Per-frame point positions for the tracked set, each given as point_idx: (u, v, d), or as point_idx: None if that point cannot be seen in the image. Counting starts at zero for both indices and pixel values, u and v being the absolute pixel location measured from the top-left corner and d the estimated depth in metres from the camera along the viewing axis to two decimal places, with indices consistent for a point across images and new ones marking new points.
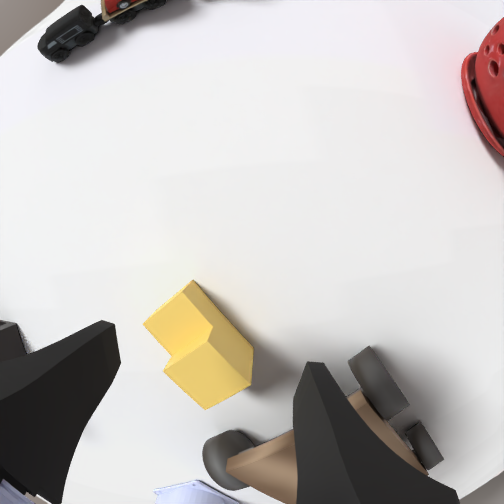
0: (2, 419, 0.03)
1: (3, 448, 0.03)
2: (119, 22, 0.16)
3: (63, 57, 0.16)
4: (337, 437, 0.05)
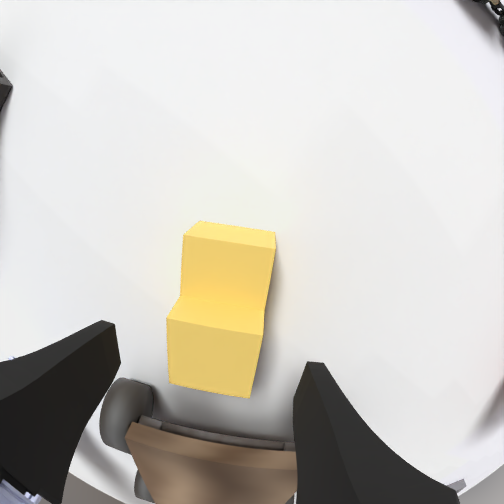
0: (2, 419, 0.03)
1: (3, 448, 0.03)
2: None
3: None
4: (337, 437, 0.05)
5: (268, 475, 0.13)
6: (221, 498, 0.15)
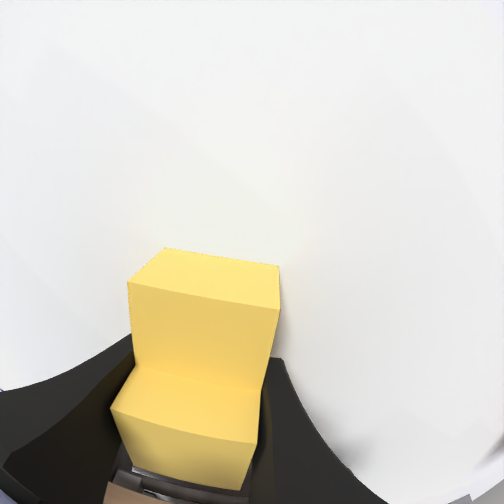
0: (47, 452, 0.03)
1: (48, 481, 0.03)
2: None
3: None
4: (274, 435, 0.05)
5: None
6: None
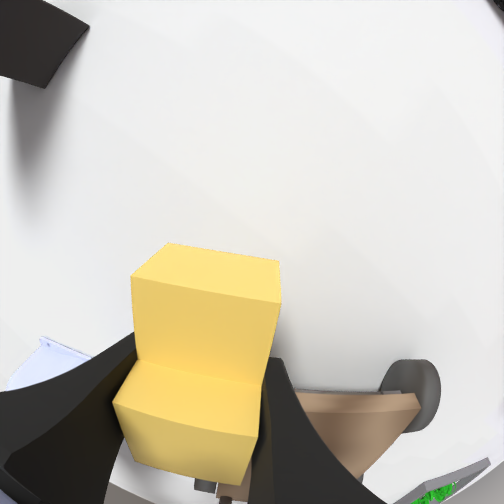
0: (47, 452, 0.03)
1: (49, 482, 0.03)
2: None
3: None
4: (273, 435, 0.05)
5: (379, 423, 0.13)
6: None
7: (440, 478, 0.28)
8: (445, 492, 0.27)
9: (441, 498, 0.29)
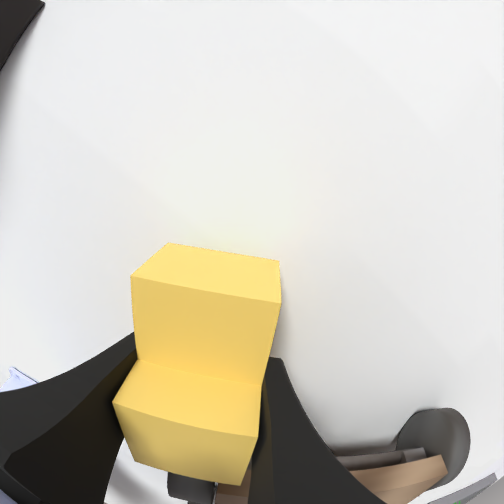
0: (47, 452, 0.03)
1: (49, 482, 0.03)
2: None
3: None
4: (273, 435, 0.05)
5: (399, 493, 0.08)
6: None
7: (446, 497, 0.23)
8: None
9: None
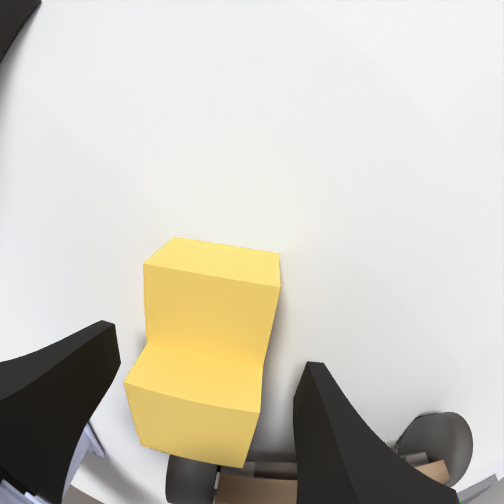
0: (2, 419, 0.03)
1: (3, 448, 0.03)
2: None
3: None
4: (337, 437, 0.05)
5: None
6: None
7: None
8: None
9: None
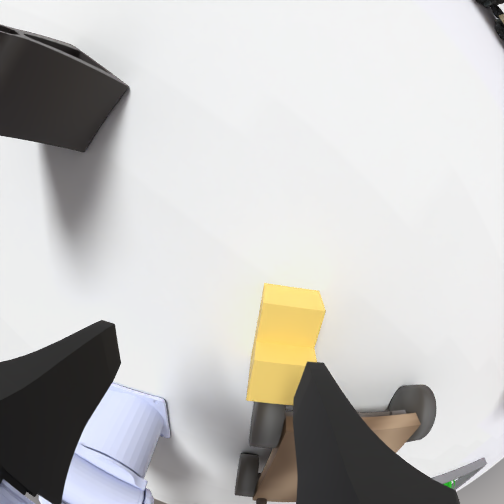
0: (2, 419, 0.03)
1: (3, 448, 0.03)
2: (497, 26, 0.09)
3: None
4: (337, 437, 0.05)
5: (389, 436, 0.17)
6: None
7: (440, 476, 0.32)
8: None
9: None
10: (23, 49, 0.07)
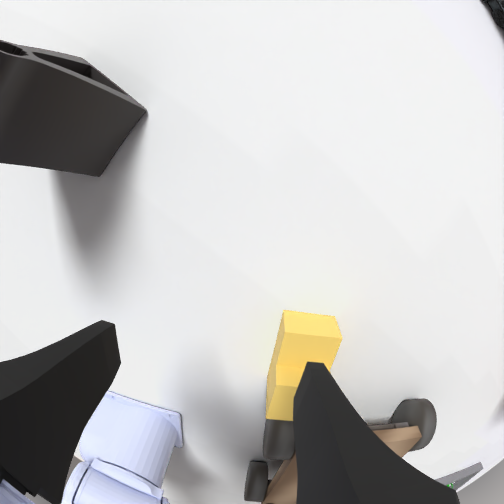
0: (2, 419, 0.03)
1: (3, 448, 0.03)
2: None
3: None
4: (337, 437, 0.05)
5: (393, 447, 0.17)
6: None
7: (437, 480, 0.33)
8: None
9: None
10: (33, 72, 0.07)
